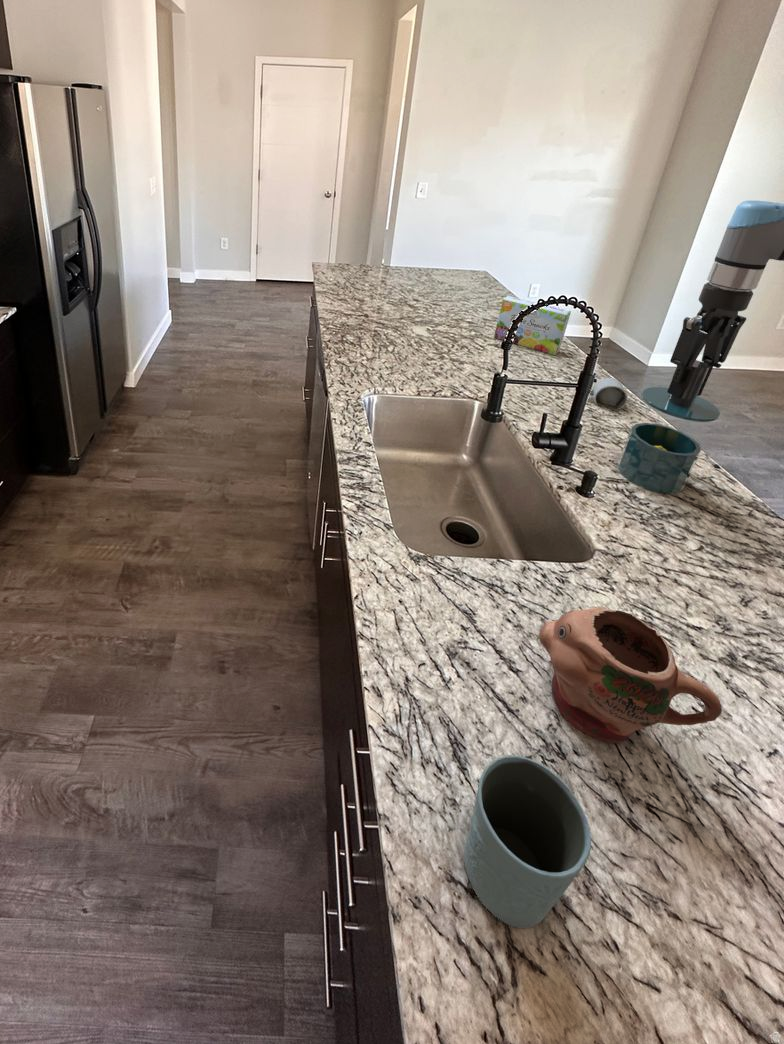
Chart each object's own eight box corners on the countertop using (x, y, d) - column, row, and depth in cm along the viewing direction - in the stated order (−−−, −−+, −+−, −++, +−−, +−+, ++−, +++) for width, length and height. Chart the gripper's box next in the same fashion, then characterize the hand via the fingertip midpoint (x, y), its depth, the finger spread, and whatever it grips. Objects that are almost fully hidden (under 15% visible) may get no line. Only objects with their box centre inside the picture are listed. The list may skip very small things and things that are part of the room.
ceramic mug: (617, 401, 153) (626, 377, 150) (622, 414, 146) (631, 389, 143) (576, 393, 157) (583, 370, 153) (579, 406, 150) (586, 382, 147)
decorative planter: (683, 707, 74) (723, 639, 68) (700, 798, 64) (749, 728, 58) (526, 644, 82) (550, 577, 76) (520, 716, 72) (547, 646, 66)
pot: (696, 490, 117) (715, 451, 113) (651, 499, 114) (669, 459, 110) (646, 457, 128) (661, 420, 124) (604, 464, 125) (618, 426, 120)
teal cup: (463, 923, 53) (489, 863, 48) (450, 805, 62) (470, 744, 57) (571, 949, 52) (609, 890, 47) (542, 825, 61) (571, 764, 56)
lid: (734, 420, 109) (755, 375, 105) (683, 428, 105) (703, 382, 101) (673, 388, 121) (690, 347, 116) (625, 394, 117) (641, 352, 113)
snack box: (492, 338, 193) (502, 298, 186) (498, 334, 197) (507, 294, 190) (555, 356, 180) (567, 314, 174) (560, 351, 184) (572, 309, 178)
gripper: (742, 278, 107) (698, 381, 117) (676, 282, 102) (635, 389, 113) (784, 290, 101) (732, 398, 111) (714, 294, 96) (667, 407, 106)
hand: (683, 393), depth 112 cm, fingers closed on lid, 4 cm apart
